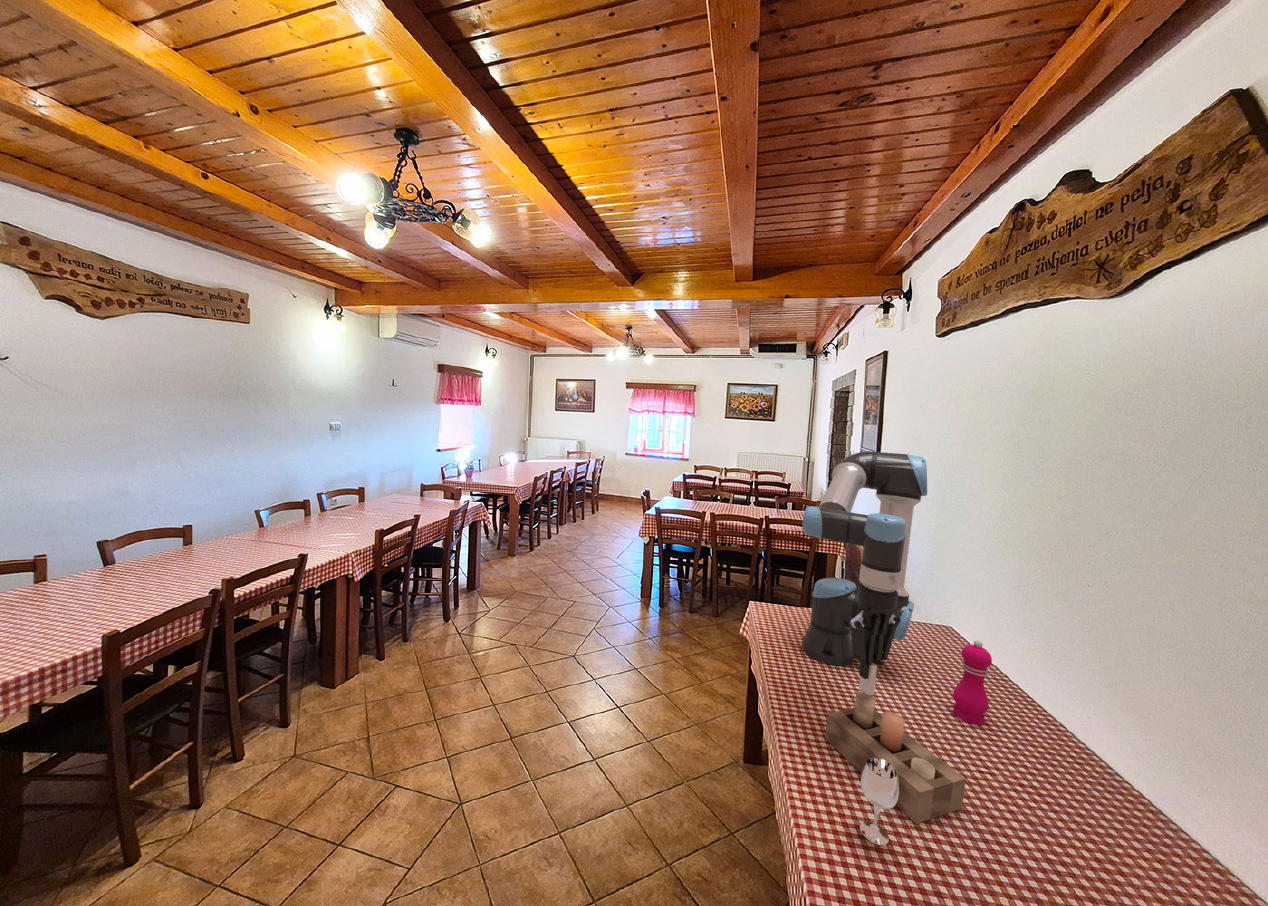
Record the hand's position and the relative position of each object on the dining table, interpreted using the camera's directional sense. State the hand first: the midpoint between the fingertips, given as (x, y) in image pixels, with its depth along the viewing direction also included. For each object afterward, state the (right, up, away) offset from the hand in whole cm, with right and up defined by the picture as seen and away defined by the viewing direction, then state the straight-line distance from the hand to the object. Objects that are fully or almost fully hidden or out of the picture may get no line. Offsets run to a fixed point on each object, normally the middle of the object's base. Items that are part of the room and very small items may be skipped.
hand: (866, 691), depth 97 cm
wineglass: (-9, -14, -20) cm, 26 cm away
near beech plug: (+4, -13, -12) cm, 18 cm away
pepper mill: (+33, -15, +15) cm, 39 cm away
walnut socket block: (+2, -14, -5) cm, 15 cm away
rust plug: (+2, -8, -6) cm, 10 cm away
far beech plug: (0, -7, +1) cm, 7 cm away
